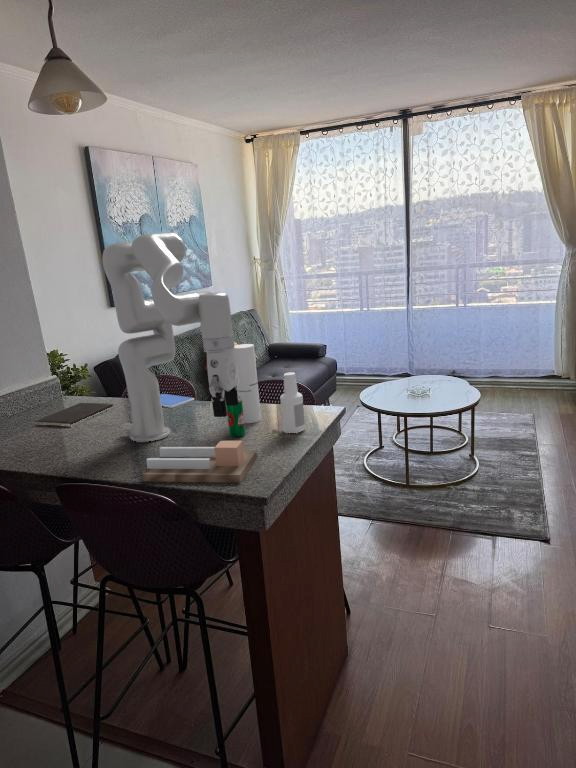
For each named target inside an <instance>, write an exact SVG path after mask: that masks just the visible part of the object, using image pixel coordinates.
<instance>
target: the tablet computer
mask: <svg viewBox="0 0 576 768" xmlns="http://www.w3.org/2000/svg"><path fill="white" fill-rule="evenodd" d="M160 398H161V405H162V406H163V407H162V408H169V409H173V408H176V407H178V406H181V405H184V404H187V403H191V402H192V401H194V400H195V398H194V397H190V396H182V395H175V394H168V393H160Z"/></svg>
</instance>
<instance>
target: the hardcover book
mask: <svg viewBox="0 0 576 768" xmlns="http://www.w3.org/2000/svg"><path fill="white" fill-rule="evenodd" d="M112 406H114V403H103V402H102V403H99V402H97V403H96V402H79V403H76V404H74V405H72V406H69V407H66V408H65V409H64V408H63V409H62V410H60V411H57V412H55V413H51V414H50V415H47V416H45V417H42V418H39V419H37V420H35V422H36V424H37V423H54V424H70V425H71V424H73V423H76V422H78V421H80V420H82V419H85V418H87V417H89V416H92V415H94V414H96V413H98V412H101V411H103V410H105V409H107V408H110V407H112Z"/></svg>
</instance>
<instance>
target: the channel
mask: <svg viewBox="0 0 576 768" xmlns="http://www.w3.org/2000/svg"><path fill="white" fill-rule="evenodd" d="M214 447H215V446H161V447H159V449H158V450H159V455H160V457H215V450H214ZM160 457H150V458H149V457H147V458H146V467H147V469H210V468H211V464H210V458H160Z"/></svg>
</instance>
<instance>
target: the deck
mask: <svg viewBox="0 0 576 768" xmlns="http://www.w3.org/2000/svg"><path fill="white" fill-rule="evenodd" d="M243 451H244V460H243V461H242V463H241V464H240V465H239V466H216V458H215V457H161V456H160V457H159V458H210V464H211V468H210V469H148V468H146V470H145V471H142V473H141V478H142V479H141V480H142V482H145V483H146V482H147V481H148V482H152V483H155V482H160V483H161V482H162V483H163V482H164V483H165V482H166V483H238V484H240V483H242V482H243V480H244V478H245V477H246V475H247V474H248V472H249V471H250V470H251V468H252V467H253V465H254V463H255V461H256V460H257V458H258V453H257V450H243ZM148 482H147V483H148Z"/></svg>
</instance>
